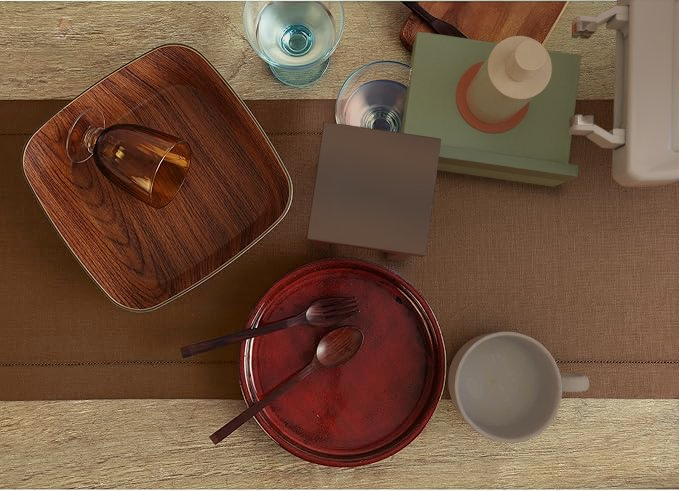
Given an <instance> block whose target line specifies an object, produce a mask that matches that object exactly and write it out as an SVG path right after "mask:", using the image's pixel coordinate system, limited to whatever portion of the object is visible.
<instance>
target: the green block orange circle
mask: <svg viewBox="0 0 679 491" xmlns="http://www.w3.org/2000/svg"><path fill="white" fill-rule="evenodd" d="M498 43H499V42H493V41H486V40H478V39H471V38H465V37H458V36H451V35H446V34H445V35H444V34H438V33H431V32H425V31H417V32H416V36H415V38H414V41H413V44H412V50H411V55H410V56H411V57H410V62H409V68H410V67H411V68H412V71H411V75H410V80H409V86H407V87H406V93H405V100H404V107H403V115H402V123H401V130H400V133H406V134H413V135H420V136H427V137H434V138H440V139H441V146H440V153H439V161H438V168H437V171H442V172H447V173H454V174H462V175H469V176H476V177H483V178H489V179H490V178H491V179H497V180H504V181H510V182H511V181H512V182H517V183H525V184H530V185H531V184H532V185H538V186H545V187H553V188H554V187H557V186H559V185H561V184H563V183H566V182H568V181H571V180H574V179H576V178H578V176H579V169H580V165H579V164H572V163H569V161H570V154H571V145H572V137H573V135H571V134H569V118H572V116H573V115H575V112H576V103H577V96H578V88H579V86H578V85H579V79H580V69H581V61H582V55H581V54H574V53H569V52H561V51H556V50H555V51H553V50H547V49H546V50H547V52H548V54H549V56H550V59H551V63H552V73H551V77H550V80H549V82H548V84H547V86H546V87H545V88H544V89H543V90H542V91H541V92H540V93H539V94H538V95H537V96H536V97H535V98H534V99H532V100H531V101H530V102H529V103H528V104H527V105H526V106H525V107H524V108H522V109H521V110H520V111H519V112H518V113H517V114H516V115H515V116H514V117H512V118H511V119H510V120H508V121H506V122H504V123H500V124H489V123H485V122H483V121H481V120H479V119H478V118H476V117H475V116H474V115H473V114H472V112H471V111H470V109H469V107H468V104H467V100H466V92H467V88H468V85H469V83H470V82H471V80H472V79H473V77H474V76H475V74H476V73H477V72H478V70H479V69H480V67H481V66H482V64H483V63H484V62H485V60H486V59H487V57H488V56H489V54H490V53H491V52H492V50H493V49H494V47H495V46H496V45H497V44H498ZM407 91H408V92H407Z"/></svg>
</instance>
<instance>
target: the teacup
mask: <svg viewBox="0 0 679 491" xmlns="http://www.w3.org/2000/svg"><path fill="white" fill-rule="evenodd" d="M447 384H448V385H447V386H448V392H449V396H450V399H451V401H452V404H453V406H454V407H455V409H456V410H457V412H458V414H459V415H460V416H461V417H462V418H463V419H464V421H465V422H466V423H467V424H468V425H469V426H470V428H472V429H473V431H475V432H476V433H478V434H479V435H481V436H482V437H484V438H486V439H488V440H491V441H494V442H497V443H501V444H512V445H513V444H519V443H523V442H527V441H529V440H532V439H535V438H537V437H538V436H540V435H541V434H542V433H543V432H544V431H545V430H547V429H548V428H549V427H550V425H552V423H553V422H554V420H555V418H556V417H557V415H558V413H559V410H560V406H561V404H562V398H563V397H562V396H563V393H583V392H586V391H588V390H589V388H590V380H589V377H588V375H586V374H584V373H579V372H567V371H562V372H560V370H559V366H558V364H557V362H556V360H555V358H554V357H553V355H552V354H551V353H550V351H549V350H548V349H547V348H546V347H545V346H544V345H543V344H542V343H541V342H540V341H538V340H536V339H535V338H533V337H532V336H530V335H527V334H523V333H520V332H517V331H496V332H487V333H483V334H480V335H477V336H475V337H473V338H471V339H470V340H468V341H466V342H465V343H464V344H463V345H462V346H461V347H459V349H458V350H457V351H456V353H455V355H454V357H453V358H452V361H451V363H450V366H449V370H448V374H447Z"/></svg>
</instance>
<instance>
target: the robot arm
mask: <svg viewBox="0 0 679 491" xmlns="http://www.w3.org/2000/svg"><path fill="white" fill-rule="evenodd" d="M615 2H616V4H615V5H614V6H613V7H610V8H608V9H606V10H604V11H602V12H600V13H599V14H596V15H595V16H594V15H578V16H576V17H575V18H574V19H573V20H572V21H571V38H573V39H578V38H580V39H583V40H589V39H590V38H591V37H592V36H593V35H594V34H595V33H596V32H597V28H599V27H601V26H603V25H604V24H605V29H606V30H614V31H615V40H614V41H615V43H614V44H615V45H614V78H613V79H614V83H613V86H614V87H613V120H612V122H613V123H612V129H611V130H609V131H607V130H605V129H604V128H602V127H600V126H599V125H597V124H595V115H592V114H586V115H583V114H574V115H573V116H572V118H569V134H571V135H572V136H585V138H587V139H588V140H590V141H592V142H593V143H594V144H595V145H597V146H599V148H602V149H611V150H612V154H611V155H612V159H611V178H612V179H613V180H614V181H615V182H616V183H617V184H618V185H619V186H620V187H623V188H625V187H626V188H648V187H659V186H666V185H670V184H673V183H677V182H679V0H616V1H615Z"/></svg>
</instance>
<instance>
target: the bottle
mask: <svg viewBox="0 0 679 491" xmlns="http://www.w3.org/2000/svg"><path fill="white" fill-rule="evenodd" d="M497 43H498V44H497V45H496V46H495V47H494V49H493V50H492V52H491V53H490V54H489V56H488V57H487V59H486V60H485V62H484V63H483V64H482V66H481V67H480V69H479V70H478V72H477V73H476V74H475V76H474V77H473V79H472V80H471V82H470V83H469V85H468V88H467V92H466V100H467V104H468V107H469V109H470V111H471V112H472V114H473V115H474V116H475V117H476V118H478V119H479V120H481V121H483V122H485V123H489V124H500V123H504V122H506V121H508V120H510V119H511V118H512V117H514V116H515V115H516V114H517V113H518V112H519V111H520V110H521V109H522V108H524V107H525V106H526V105H527V104H528V103H529V102H530V101H531V100H532V99H534V98H535V97H536V96H537V95H538V94H539V93H540V92H541V91H542V90H543V89H544V88H545V87H546V86H547V84H548V82H549V80H550V77H551V73H552V63H551V59H550V56H549V54H548V52H547V49H546V48H545V46H544V45H542V44H541V42H539V41H538V40H536V39H534V38H532V37H529V36H526V35H513V36H509V37H506V38H504V39H502V40H501V41H499V42H497Z"/></svg>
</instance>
